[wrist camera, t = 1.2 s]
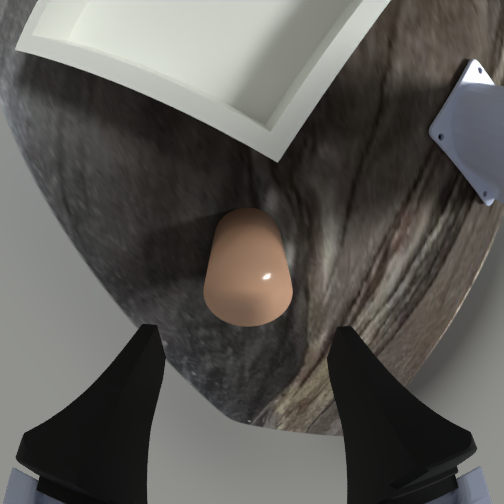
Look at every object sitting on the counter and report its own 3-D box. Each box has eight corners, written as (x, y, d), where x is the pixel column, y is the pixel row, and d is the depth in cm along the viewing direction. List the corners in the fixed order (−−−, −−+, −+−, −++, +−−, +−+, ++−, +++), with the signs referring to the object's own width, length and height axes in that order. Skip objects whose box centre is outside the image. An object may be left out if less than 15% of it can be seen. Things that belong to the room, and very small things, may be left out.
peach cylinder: (293, 227, 19) (310, 281, 14) (258, 274, 21) (262, 336, 16) (234, 195, 18) (229, 241, 13) (203, 248, 20) (189, 306, 15)
